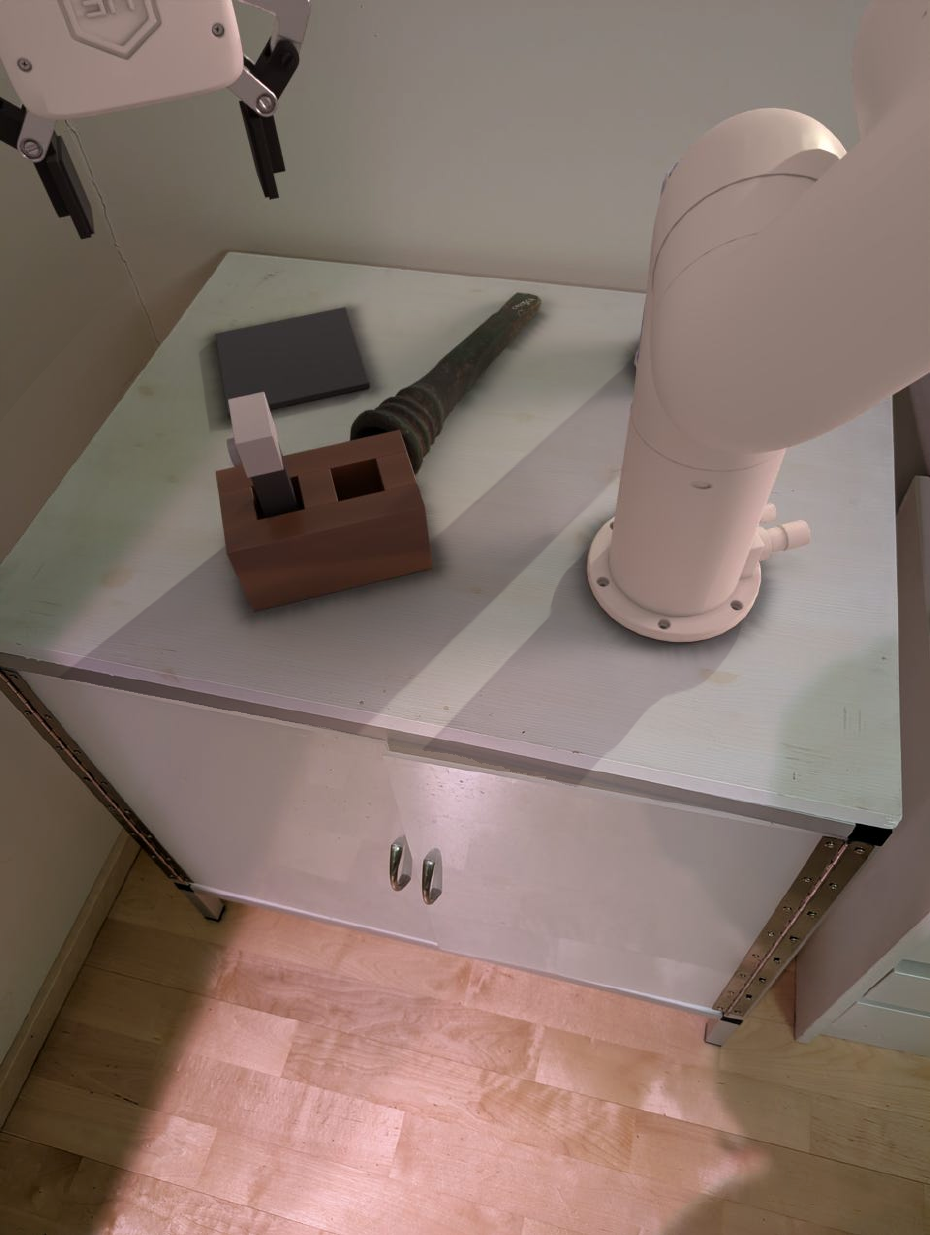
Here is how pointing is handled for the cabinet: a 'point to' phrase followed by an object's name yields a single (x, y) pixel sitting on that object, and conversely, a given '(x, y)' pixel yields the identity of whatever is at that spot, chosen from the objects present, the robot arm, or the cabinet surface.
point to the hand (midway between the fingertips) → (179, 205)
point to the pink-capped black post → (260, 454)
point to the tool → (445, 382)
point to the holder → (328, 523)
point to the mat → (292, 359)
